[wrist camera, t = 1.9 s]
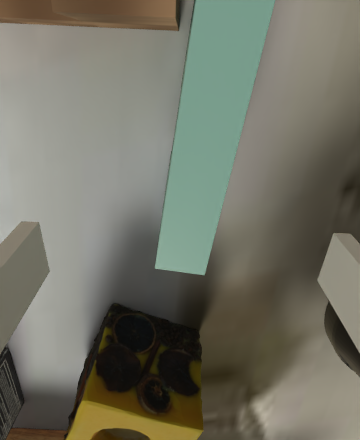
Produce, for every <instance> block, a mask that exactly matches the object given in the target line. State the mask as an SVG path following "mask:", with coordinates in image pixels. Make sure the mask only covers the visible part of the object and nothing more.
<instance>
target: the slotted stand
mask: <svg viewBox="0 0 360 440" xmlns="http://www.w3.org/2000/svg"><path fill="white" fill-rule="evenodd" d="M179 4H180V0H0V23H20V24H42V25H64V26H86V27H108V28H130V29H152V30H173V31H179Z"/></svg>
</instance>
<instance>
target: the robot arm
mask: <svg viewBox="0 0 360 440" xmlns="http://www.w3.org/2000/svg"><path fill="white" fill-rule="evenodd" d="M49 272H50V270H49V266H48V261H47V257H46V252H45V248H44V243H43V239H42V234H41V230H40V225H39V222H21V223H20V224H19V225H18V226H17V227H16V228H15V229H14V230H13V231H12V232H11V233H10V234H9V236H8V237H7V238H6V239H5V240H4V241H3V242H2V243H1V244H0V354H1V352H2V351H3V349H4V347H5V346H6V344H7V342H8V341H9V339H10V337H11V335H12V334H13V332H14V330H15V329H16V327H17V325H18V324H19V322H20V320H21V319H22V317H23V315H24V314H25V312H26V310H27V309H28V307H29V305H30V304H31V302H32V300H33V298H34V297H35V295H36V293H37V292H38V290H39V288H40V287H41V285H42V283H43V282H44V280H45V278H46V277H47V275H48V273H49ZM317 281H318V282H319V284H320V286H321V288H322V289H323V291H324V293H325V294H326V296H327V298H328V300H329V301H330V302H329V304H328V307H327V310H326V313H325V320H324V324H325V330H326V333H327V336H328V338H329V340H330V342H331V343H332V345H333V347H334V349H335V351H336V353H337V355H338V356H339V357H340V359H341V360H342V361H343V362H344V363H345V364H346V365H347V366H348V367H349V368H350V369H352V370H353V371H355V372H356V374H357V375H358V376H359V377H360V244H359V243H358V241H357V240H356V239H355V238H354V237H353V236H352V235H351V234H345V233H333V236H332V239H331V242H330V245H329V248H328V251H327V254H326V257H325V260H324V262H323V265H322V268H321V271H320V274H319V277H318V280H317Z"/></svg>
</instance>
